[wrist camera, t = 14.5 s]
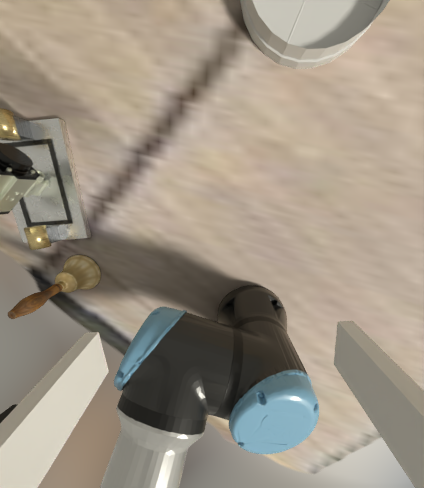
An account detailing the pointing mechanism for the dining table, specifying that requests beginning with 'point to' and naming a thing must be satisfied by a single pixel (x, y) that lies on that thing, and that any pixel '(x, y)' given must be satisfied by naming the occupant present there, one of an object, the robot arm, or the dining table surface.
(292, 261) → the dining table surface
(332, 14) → the dish
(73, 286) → the hand bell
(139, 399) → the robot arm
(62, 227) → the plate
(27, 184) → the pneumatic valve
